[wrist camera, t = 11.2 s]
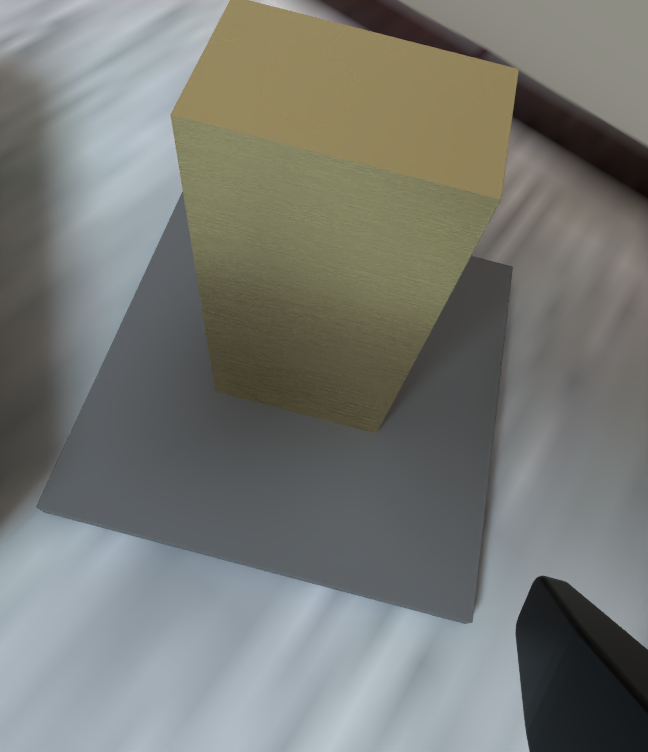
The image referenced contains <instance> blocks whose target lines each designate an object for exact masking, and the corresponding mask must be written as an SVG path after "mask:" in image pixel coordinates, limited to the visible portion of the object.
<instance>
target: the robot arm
mask: <svg viewBox="0 0 648 752" xmlns="http://www.w3.org/2000/svg"><path fill="white" fill-rule="evenodd" d="M516 643H517V653H518V662H519V672H520V682H521V692H522V701H523V711H524V720H525V728H526V735H527V740H528V745H529V751H530V752H648V650H647V649H646V648H645V647H644V646H643V645H641V644H640V643H639V642H638V641H637V640H635V639H634V638H633V637H632V636H631V635H629V634H628V633H627V632H626V631H625V630H624V629H622V628H621V627H620V626H619V625H618V624H616V623H615V622H614V621H613V620H612V619H610V618H609V617H608V616H607V615H606V614H604V613H603V612H602V611H601V610H600V609H598V608H597V607H596V606H595V605H594V604H592V603H591V602H590V601H589V600H588V599H586V598H585V597H584V596H583V595H582V594H580V593H579V592H578V591H577V590H576V589H574V588H573V587H572V586H571V585H570V584H568V583H567V582H565V581H562V580H558V579H554V578H550V577H547V576H539V577H537V578H536V579H535V581H534V582H533V584H532V586H531V589H530V591H529V593H528V596H527V598H526V600H525V603H524V605H523V607H522V610H521V612H520V614H519V617H518V620H517V624H516Z"/></svg>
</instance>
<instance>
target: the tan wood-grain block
mask: <svg viewBox="0 0 648 752" xmlns="http://www.w3.org/2000/svg"><path fill="white" fill-rule="evenodd" d="M517 77H518V69H516V68H512V67H508V66H504V65H500V64H496V63H492V62H489V61H485V60H481V59H477V58H473V57H469V56H465V55H461V54H457V53H453V52H449V51H445V50H441V49H437V48H434V47H430V46H426V45H422V44H418V43H414V42H410V41H406V40H402V39H398V38H394V37H390V36H386V35H382V34H379V33H375V32H371V31H367V30H363V29H359V28H355V27H351V26H347V25H343V24H339V23H335V22H331V21H327V20H324V19H320V18H316V17H312V16H308V15H304V14H300V13H296V12H292V11H288V10H284V9H280V8H276V7H272V6H269V5H265V4H261V3H257V2H253V1H249V0H230V1H229V3H228V5H227V7H226V9H225V11H224V13H223V15H222V17H221V19H220V21H219V23H218V25H217V26H216V28H215V30H214V32H213V34H212V36H211V38H210V40H209V42H208V44H207V46H206V48H205V50H204V51H203V53H202V55H201V57H200V59H199V61H198V63H197V65H196V67H195V69H194V71H193V73H192V74H191V76H190V78H189V80H188V82H187V84H186V86H185V88H184V90H183V92H182V94H181V96H180V98H179V99H178V101H177V103H176V105H175V107H174V109H173V111H172V113H171V120H172V126H173V133H174V139H175V145H176V151H177V157H178V164H179V170H180V176H181V182H182V189H183V195H184V201H185V207H186V213H187V220H188V226H189V232H190V238H191V244H192V251H193V257H194V263H195V269H196V276H197V282H198V288H199V294H200V300H201V307H202V313H203V319H204V325H205V332H206V338H207V344H208V350H209V356H210V363H211V369H212V375H213V381H214V388H215V391H216V392H220V393H223V394H227V395H231V396H235V397H239V398H242V399H246V400H250V401H254V402H258V403H261V404H265V405H269V406H273V407H277V408H281V409H284V410H288V411H292V412H296V413H300V414H303V415H307V416H311V417H315V418H319V419H322V420H326V421H330V422H334V423H338V424H341V425H345V426H349V427H353V428H357V429H360V430H364V431H368V432H372V433H377V431H378V430H379V428H380V426H381V424H382V422H383V420H384V418H385V416H386V415H387V413H388V411H389V409H390V407H391V405H392V403H393V401H394V400H395V398H396V396H397V394H398V392H399V390H400V388H401V386H402V384H403V383H404V381H405V379H406V377H407V375H408V373H409V371H410V369H411V368H412V366H413V364H414V362H415V360H416V358H417V356H418V354H419V353H420V351H421V349H422V347H423V345H424V343H425V341H426V339H427V338H428V336H429V334H430V332H431V330H432V328H433V326H434V324H435V323H436V321H437V319H438V317H439V315H440V313H441V311H442V309H443V308H444V306H445V304H446V302H447V300H448V298H449V296H450V294H451V293H452V291H453V289H454V287H455V285H456V283H457V281H458V279H459V278H460V276H461V274H462V272H463V270H464V268H465V266H466V264H467V263H468V261H469V259H470V257H471V255H472V253H473V251H474V249H475V247H476V246H477V244H478V242H479V240H480V238H481V236H482V234H483V232H484V231H485V229H486V227H487V225H488V223H489V221H490V219H491V217H492V216H493V214H494V212H495V210H496V208H497V206H498V204H499V202H500V201H501V196H502V189H503V181H504V174H505V166H506V159H507V151H508V144H509V136H510V129H511V122H512V114H513V107H514V99H515V92H516V84H517Z"/></svg>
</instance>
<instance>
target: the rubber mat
mask: <svg viewBox="0 0 648 752" xmlns="http://www.w3.org/2000/svg"><path fill="white" fill-rule="evenodd" d="M512 268H513V267H511V266H507V265H503V264H500V263H496V262H492V261H488V260H484V259H480V258H476V257H472V256H471V257H470V259H469V261H468V263H467V264H466V266H465V268H464V270H463V272H462V274H461V276H460V278H459V279H458V281H457V283H456V285H455V287H454V289H453V291H452V293H451V294H450V296H449V298H448V300H447V302H446V304H445V306H444V308H443V309H442V311H441V313H440V315H439V317H438V319H437V321H436V323H435V324H434V326H433V328H432V330H431V332H430V334H429V336H428V338H427V339H426V341H425V343H424V345H423V347H422V349H421V351H420V353H419V354H418V356H417V358H416V360H415V362H414V364H413V366H412V368H411V369H410V371H409V373H408V375H407V377H406V379H405V381H404V383H403V384H402V386H401V388H400V390H399V392H398V394H397V396H396V398H395V400H394V401H393V403H392V405H391V407H390V409H389V411H388V413H387V415H386V416H385V418H384V420H383V422H382V424H381V426H380V428H379V430H378V431H377V433H372V432H368V431H364V430H360V429H357V428H353V427H349V426H345V425H341V424H338V423H334V422H330V421H326V420H322V419H319V418H315V417H311V416H307V415H303V414H300V413H296V412H292V411H288V410H284V409H281V408H277V407H273V406H269V405H265V404H261V403H258V402H254V401H250V400H246V399H242V398H239V397H235V396H231V395H227V394H223V393H220V392H216V391H215V388H214V381H213V375H212V369H211V363H210V356H209V350H208V344H207V338H206V332H205V325H204V319H203V313H202V307H201V300H200V294H199V288H198V282H197V276H196V269H195V263H194V257H193V251H192V244H191V238H190V232H189V226H188V220H187V213H186V207H185V201H184V195H183V192H182V194H181V196H180V198H179V201H178V203H177V205H176V207H175V209H174V211H173V213H172V216H171V218H170V220H169V222H168V224H167V226H166V229H165V231H164V233H163V235H162V237H161V239H160V241H159V244H158V246H157V248H156V250H155V252H154V254H153V256H152V259H151V261H150V263H149V265H148V267H147V269H146V272H145V274H144V276H143V278H142V280H141V282H140V284H139V287H138V289H137V291H136V293H135V295H134V297H133V300H132V302H131V304H130V306H129V308H128V310H127V312H126V315H125V317H124V319H123V321H122V323H121V325H120V328H119V330H118V332H117V334H116V336H115V338H114V340H113V343H112V345H111V347H110V349H109V351H108V353H107V356H106V358H105V360H104V362H103V364H102V366H101V368H100V371H99V373H98V375H97V377H96V379H95V381H94V383H93V386H92V388H91V390H90V392H89V394H88V396H87V399H86V401H85V403H84V405H83V407H82V409H81V411H80V414H79V416H78V418H77V420H76V422H75V424H74V427H73V429H72V431H71V433H70V435H69V437H68V439H67V442H66V444H65V446H64V448H63V450H62V452H61V455H60V457H59V459H58V461H57V463H56V465H55V467H54V470H53V472H52V474H51V476H50V478H49V480H48V483H47V485H46V487H45V489H44V491H43V493H42V495H41V498H40V500H39V502H38V504H37V506H36V507H37V508H38V509H40V510H41V511H43V512H45V513H49V514H53V515H57V516H61V517H64V518H68V519H72V520H76V521H79V522H83V523H87V524H91V525H95V526H98V527H102V528H106V529H110V530H113V531H117V532H121V533H125V534H128V535H132V536H136V537H140V538H144V539H147V540H151V541H155V542H159V543H162V544H166V545H170V546H174V547H178V548H181V549H185V550H189V551H193V552H196V553H200V554H204V555H208V556H212V557H215V558H219V559H223V560H227V561H230V562H234V563H238V564H242V565H245V566H249V567H253V568H257V569H261V570H264V571H268V572H272V573H276V574H279V575H283V576H287V577H291V578H295V579H298V580H302V581H306V582H310V583H313V584H317V585H321V586H325V587H329V588H332V589H336V590H340V591H344V592H347V593H351V594H355V595H359V596H363V597H366V598H370V599H374V600H378V601H381V602H385V603H389V604H393V605H396V606H400V607H404V608H408V609H412V610H415V611H419V612H423V613H427V614H430V615H434V616H438V617H442V618H446V619H449V620H453V621H457V622H461V623H464V624H467V623H472V622H473V613H474V604H475V595H476V587H477V578H478V569H479V560H480V551H481V542H482V533H483V525H484V516H485V507H486V498H487V489H488V480H489V471H490V463H491V454H492V445H493V436H494V427H495V418H496V410H497V401H498V392H499V383H500V374H501V365H502V356H503V348H504V339H505V330H506V321H507V312H508V303H509V294H510V286H511V277H512Z"/></svg>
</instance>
